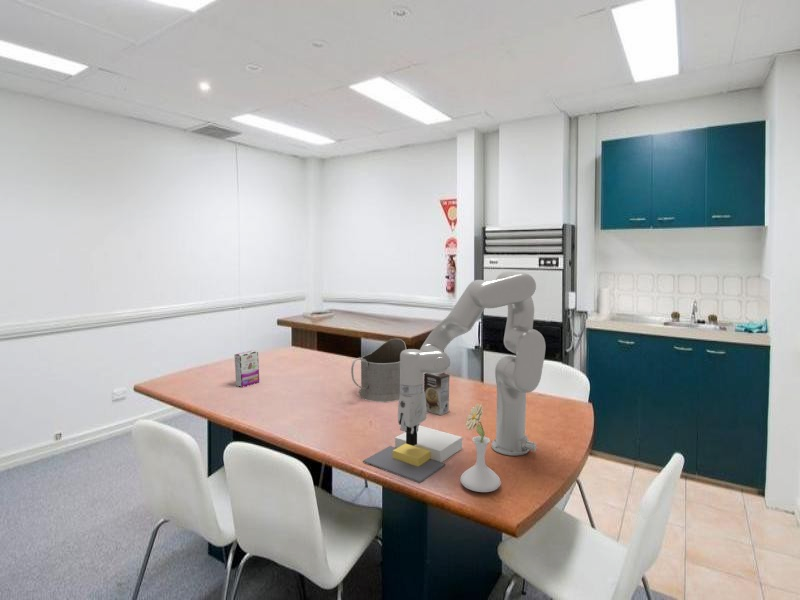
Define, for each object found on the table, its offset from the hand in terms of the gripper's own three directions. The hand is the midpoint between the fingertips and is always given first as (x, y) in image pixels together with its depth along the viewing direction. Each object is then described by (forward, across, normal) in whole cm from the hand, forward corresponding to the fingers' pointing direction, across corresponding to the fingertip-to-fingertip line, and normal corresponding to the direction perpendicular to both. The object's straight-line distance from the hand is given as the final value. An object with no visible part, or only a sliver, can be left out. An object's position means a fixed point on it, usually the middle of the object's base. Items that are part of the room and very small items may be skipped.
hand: (411, 443), depth 147 cm
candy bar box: (+5, +19, +116) cm, 118 cm away
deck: (+5, +10, 0) cm, 11 cm away
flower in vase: (+5, -3, -26) cm, 27 cm away
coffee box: (+5, +43, +18) cm, 47 cm away
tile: (+4, -1, 0) cm, 4 cm away
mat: (+5, -4, 0) cm, 7 cm away
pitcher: (+5, +44, +51) cm, 68 cm away
